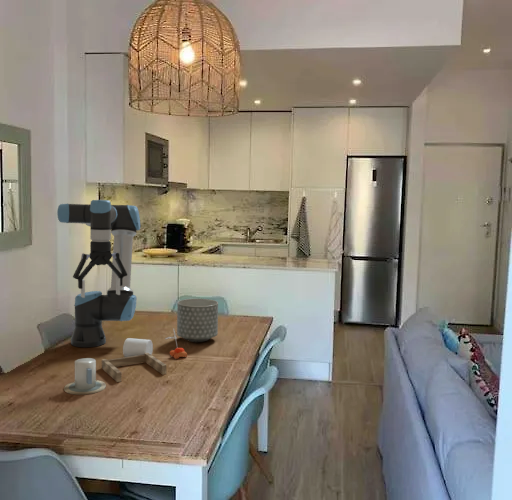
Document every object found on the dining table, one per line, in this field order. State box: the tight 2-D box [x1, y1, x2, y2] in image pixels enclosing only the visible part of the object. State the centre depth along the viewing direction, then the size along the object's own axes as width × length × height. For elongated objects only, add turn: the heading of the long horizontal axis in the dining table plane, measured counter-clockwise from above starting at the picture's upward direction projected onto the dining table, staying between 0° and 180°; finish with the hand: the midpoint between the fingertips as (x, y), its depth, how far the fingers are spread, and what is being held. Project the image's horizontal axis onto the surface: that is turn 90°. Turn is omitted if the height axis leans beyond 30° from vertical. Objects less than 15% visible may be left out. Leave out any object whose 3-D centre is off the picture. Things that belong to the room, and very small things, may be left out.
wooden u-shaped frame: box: [101, 353, 167, 383], centre depth 207 cm, size 18×19×4 cm
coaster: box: [63, 379, 107, 396], centre depth 188 cm, size 14×14×1 cm
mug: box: [122, 337, 154, 357], centre depth 226 cm, size 12×10×8 cm
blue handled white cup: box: [74, 357, 97, 390], centre depth 187 cm, size 7×9×9 cm
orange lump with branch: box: [164, 328, 188, 360], centre depth 226 cm, size 6×10×12 cm, turn 88°
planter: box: [176, 298, 219, 343], centre depth 254 cm, size 19×19×18 cm
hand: (100, 295), depth 207 cm, fingers open, 13 cm apart
